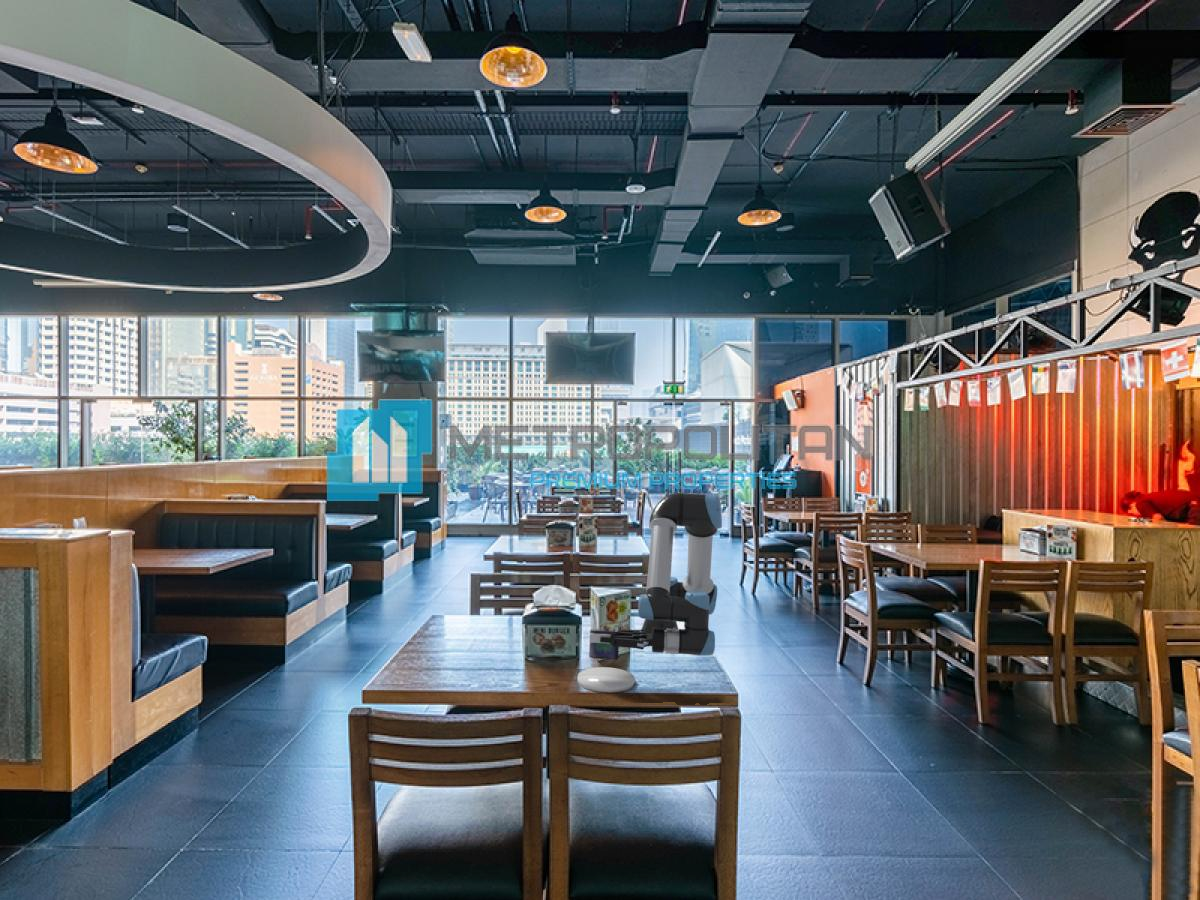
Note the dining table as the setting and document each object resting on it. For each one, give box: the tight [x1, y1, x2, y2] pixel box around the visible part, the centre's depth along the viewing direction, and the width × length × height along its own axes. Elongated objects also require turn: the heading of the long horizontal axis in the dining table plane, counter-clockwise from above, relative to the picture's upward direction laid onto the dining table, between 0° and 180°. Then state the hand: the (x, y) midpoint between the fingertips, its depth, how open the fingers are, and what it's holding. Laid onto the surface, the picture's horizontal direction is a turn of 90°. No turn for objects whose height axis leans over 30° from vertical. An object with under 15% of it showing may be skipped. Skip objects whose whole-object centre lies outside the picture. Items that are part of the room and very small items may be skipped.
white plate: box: [577, 666, 635, 693], centre depth 219 cm, size 18×18×2 cm
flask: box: [588, 623, 620, 661], centre depth 218 cm, size 9×3×11 cm, turn 86°
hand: (590, 636), depth 219 cm, fingers closed on flask, 3 cm apart
